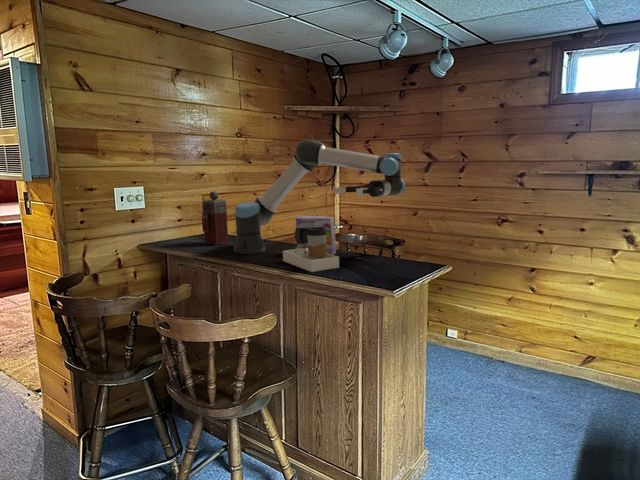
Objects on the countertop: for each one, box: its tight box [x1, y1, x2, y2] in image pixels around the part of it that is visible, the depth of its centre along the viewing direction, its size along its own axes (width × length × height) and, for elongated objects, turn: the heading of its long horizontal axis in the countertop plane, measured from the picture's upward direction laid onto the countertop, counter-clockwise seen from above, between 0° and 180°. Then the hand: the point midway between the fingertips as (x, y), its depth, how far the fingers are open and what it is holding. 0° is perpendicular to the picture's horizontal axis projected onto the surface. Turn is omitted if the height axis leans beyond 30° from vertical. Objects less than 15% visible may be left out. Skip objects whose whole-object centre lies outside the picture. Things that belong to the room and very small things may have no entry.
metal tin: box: [294, 247, 309, 255], centre depth 208 cm, size 7×7×5 cm
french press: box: [201, 190, 229, 245], centre depth 253 cm, size 9×11×28 cm
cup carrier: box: [282, 248, 340, 273], centre depth 203 cm, size 25×13×4 cm, turn 31°
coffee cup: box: [307, 227, 327, 260], centre depth 197 cm, size 8×8×15 cm
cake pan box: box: [294, 215, 337, 255], centre depth 223 cm, size 19×5×18 cm, turn 65°
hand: (345, 191), depth 205 cm, fingers open, 13 cm apart
